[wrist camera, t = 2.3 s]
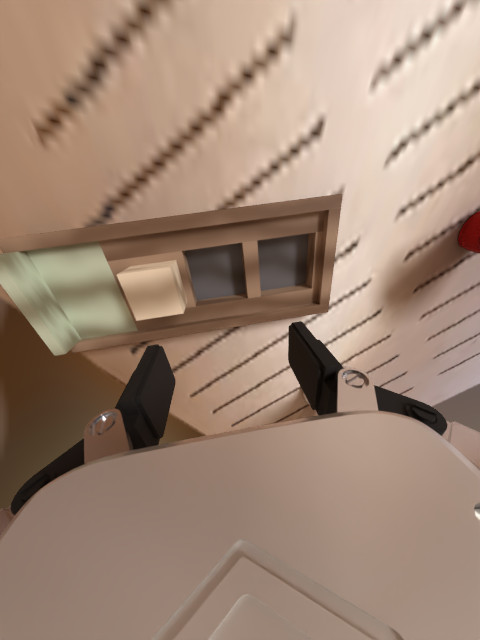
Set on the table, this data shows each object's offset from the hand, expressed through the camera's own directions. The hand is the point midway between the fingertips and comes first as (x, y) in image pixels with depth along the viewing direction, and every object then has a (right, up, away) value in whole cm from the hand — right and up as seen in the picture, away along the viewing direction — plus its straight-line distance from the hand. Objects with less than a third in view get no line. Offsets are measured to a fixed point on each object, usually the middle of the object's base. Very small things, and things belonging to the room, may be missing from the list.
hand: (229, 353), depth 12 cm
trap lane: (-6, +9, +17) cm, 20 cm away
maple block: (-10, +7, +15) cm, 19 cm away
